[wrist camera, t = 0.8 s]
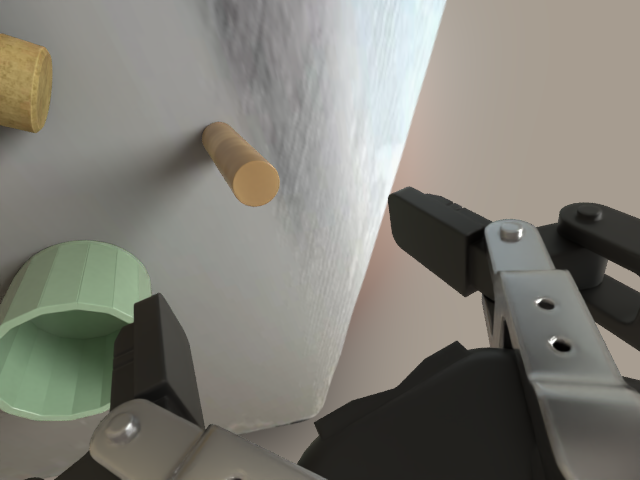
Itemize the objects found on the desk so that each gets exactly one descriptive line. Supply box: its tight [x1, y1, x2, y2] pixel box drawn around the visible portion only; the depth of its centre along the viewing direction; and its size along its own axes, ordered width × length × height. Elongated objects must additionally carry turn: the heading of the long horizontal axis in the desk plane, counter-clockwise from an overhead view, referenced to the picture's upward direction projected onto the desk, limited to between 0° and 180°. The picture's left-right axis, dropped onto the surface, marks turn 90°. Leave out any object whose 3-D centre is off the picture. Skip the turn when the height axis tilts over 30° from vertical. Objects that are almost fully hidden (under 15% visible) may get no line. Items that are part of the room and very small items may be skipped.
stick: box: [202, 122, 280, 207], centre depth 23 cm, size 2×2×10 cm
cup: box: [0, 240, 152, 421], centre depth 25 cm, size 9×9×8 cm
